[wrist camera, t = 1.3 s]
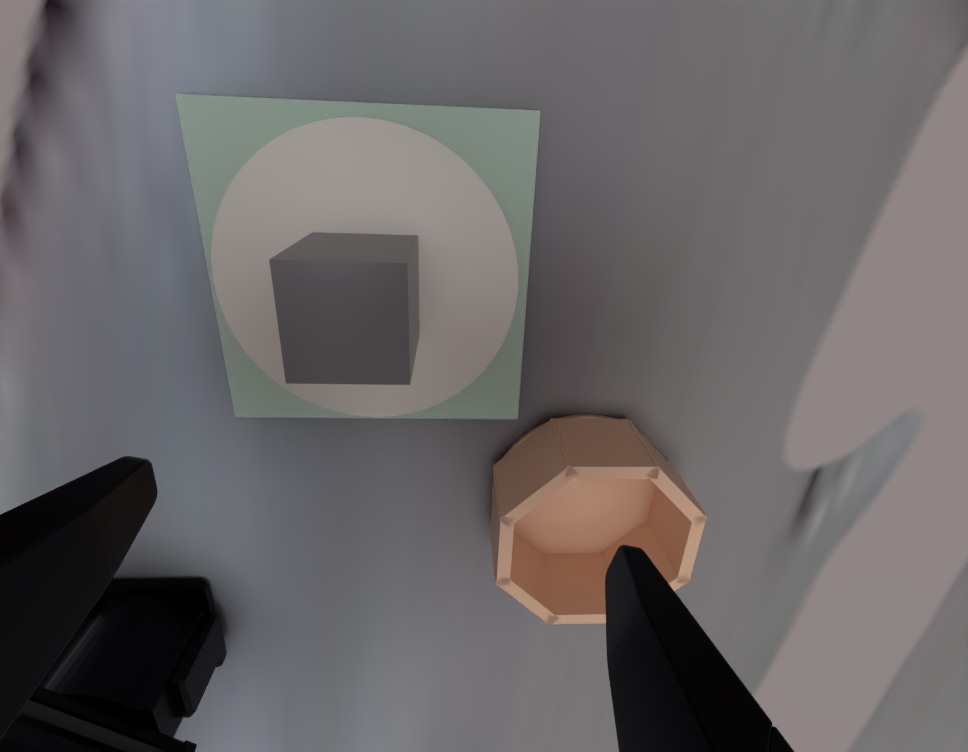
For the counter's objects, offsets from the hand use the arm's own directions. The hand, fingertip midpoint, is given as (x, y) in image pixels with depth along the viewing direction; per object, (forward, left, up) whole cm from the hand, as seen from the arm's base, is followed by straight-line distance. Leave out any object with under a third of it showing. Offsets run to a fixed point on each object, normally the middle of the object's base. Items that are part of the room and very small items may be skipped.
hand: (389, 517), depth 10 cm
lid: (-2, +1, -13) cm, 14 cm away
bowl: (+8, -10, -14) cm, 19 cm away
